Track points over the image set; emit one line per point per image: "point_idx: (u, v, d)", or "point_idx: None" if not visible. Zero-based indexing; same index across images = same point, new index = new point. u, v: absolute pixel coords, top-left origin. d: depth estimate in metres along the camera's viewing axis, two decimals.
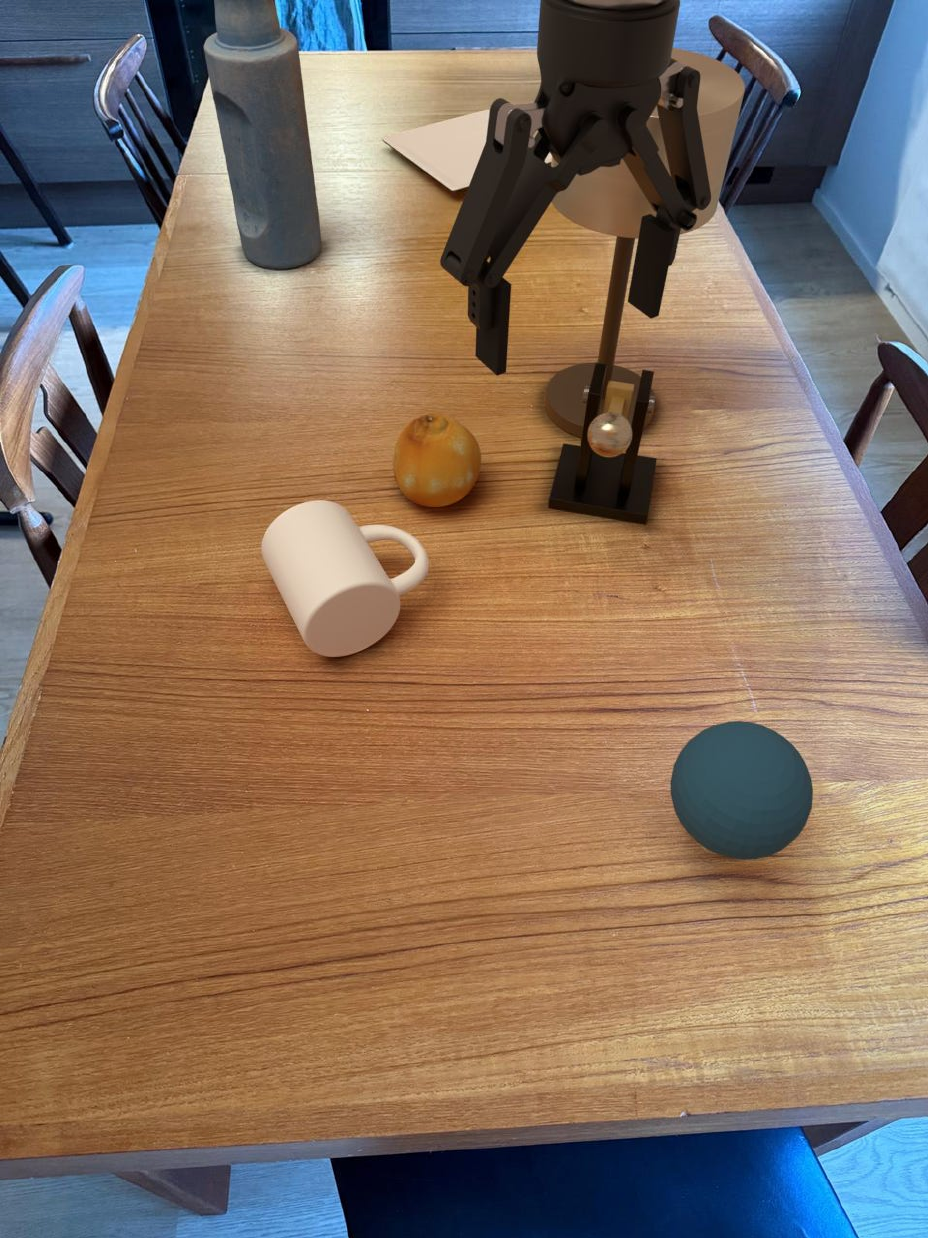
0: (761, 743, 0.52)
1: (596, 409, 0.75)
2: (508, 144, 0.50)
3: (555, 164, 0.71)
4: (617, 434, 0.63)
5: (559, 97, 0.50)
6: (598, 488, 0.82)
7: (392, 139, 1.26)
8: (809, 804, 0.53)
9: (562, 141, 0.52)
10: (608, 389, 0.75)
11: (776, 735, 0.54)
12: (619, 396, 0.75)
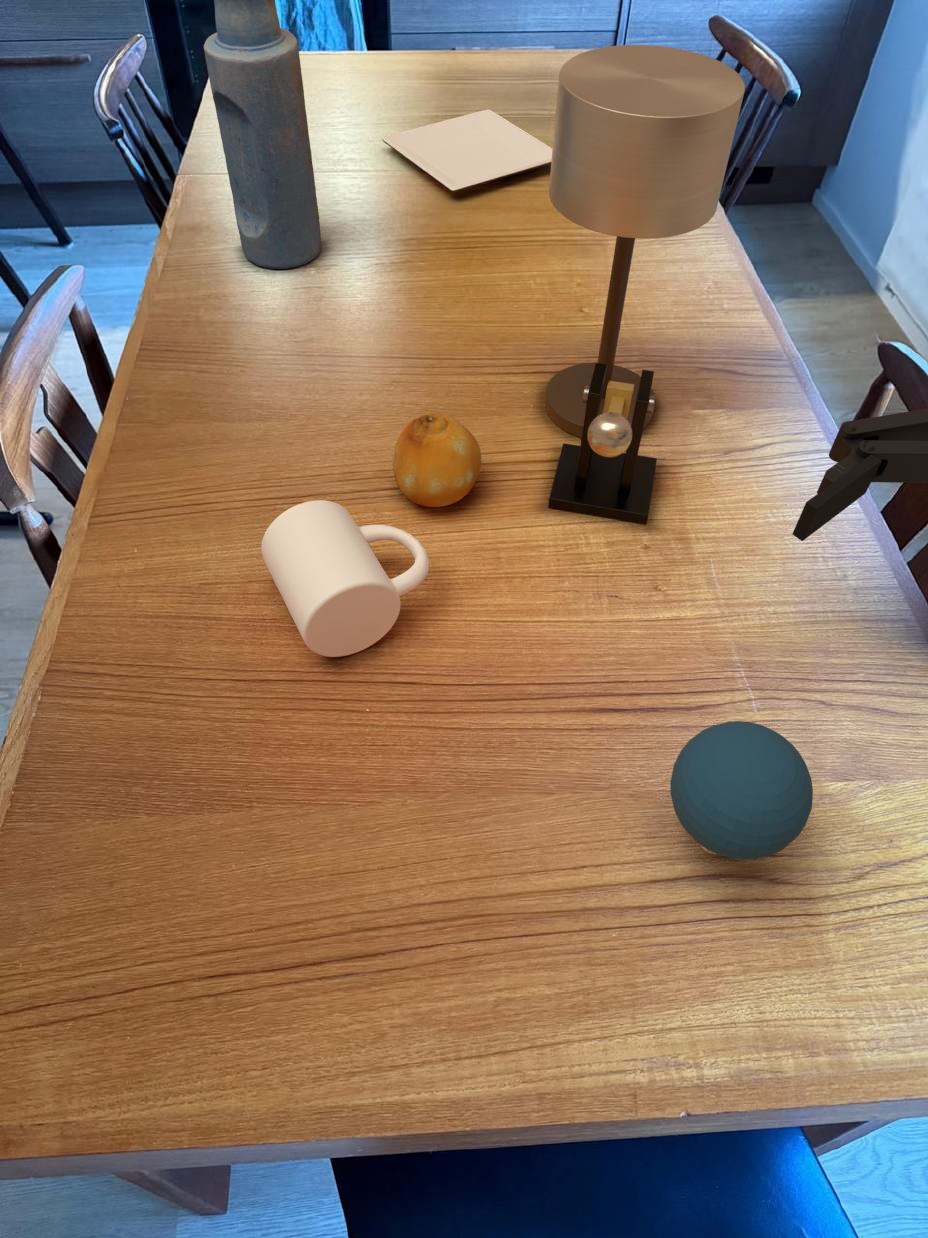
0: (761, 743, 0.52)
1: (596, 409, 0.75)
2: None
3: (555, 164, 0.71)
4: (617, 434, 0.63)
5: None
6: (598, 488, 0.82)
7: (392, 139, 1.26)
8: (809, 804, 0.53)
9: None
10: (608, 389, 0.75)
11: (776, 735, 0.54)
12: (619, 396, 0.75)
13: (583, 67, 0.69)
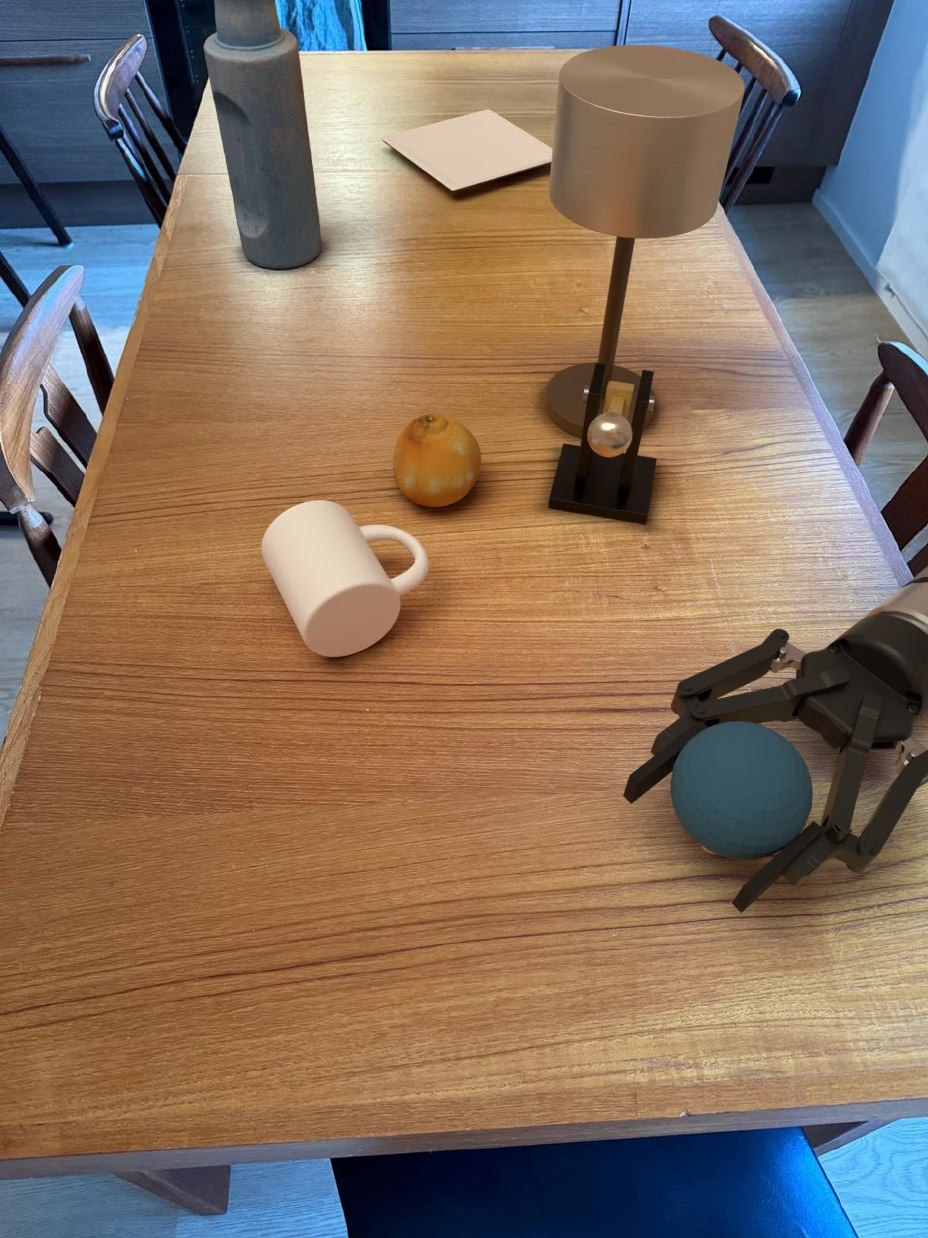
0: (761, 743, 0.52)
1: (596, 409, 0.75)
2: (764, 641, 0.63)
3: (555, 164, 0.71)
4: (617, 434, 0.63)
5: (824, 649, 0.63)
6: (598, 488, 0.82)
7: (392, 139, 1.26)
8: (809, 804, 0.53)
9: (808, 669, 0.61)
10: (608, 389, 0.75)
11: (776, 735, 0.54)
12: (619, 396, 0.75)
13: (583, 67, 0.69)
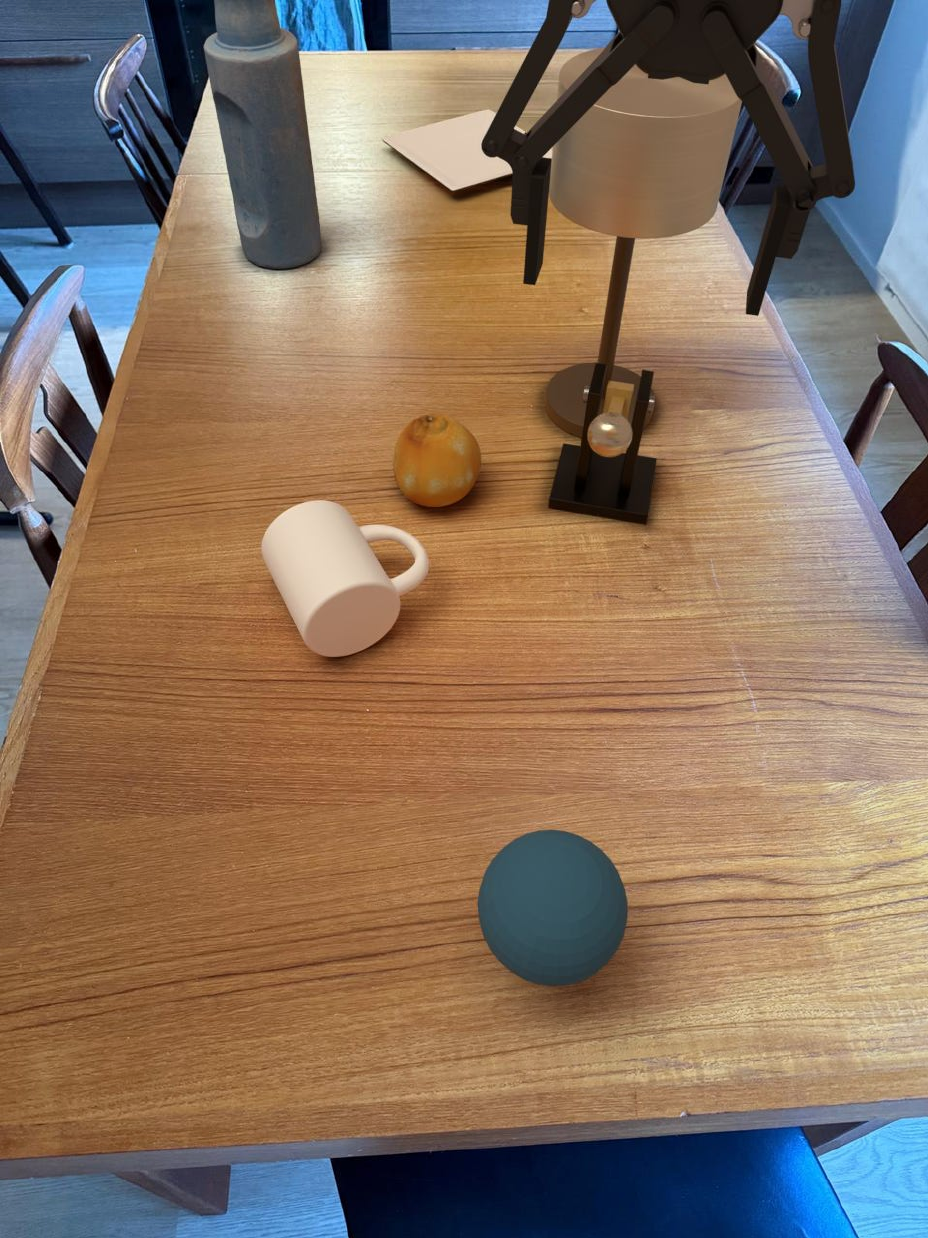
0: (565, 862, 0.48)
1: (596, 409, 0.75)
2: (549, 1, 0.44)
3: (555, 164, 0.71)
4: (617, 434, 0.63)
5: None
6: (598, 488, 0.82)
7: (392, 139, 1.26)
8: (618, 928, 0.48)
9: (622, 23, 0.44)
10: (608, 389, 0.75)
11: (586, 850, 0.49)
12: (619, 396, 0.75)
13: (583, 67, 0.69)
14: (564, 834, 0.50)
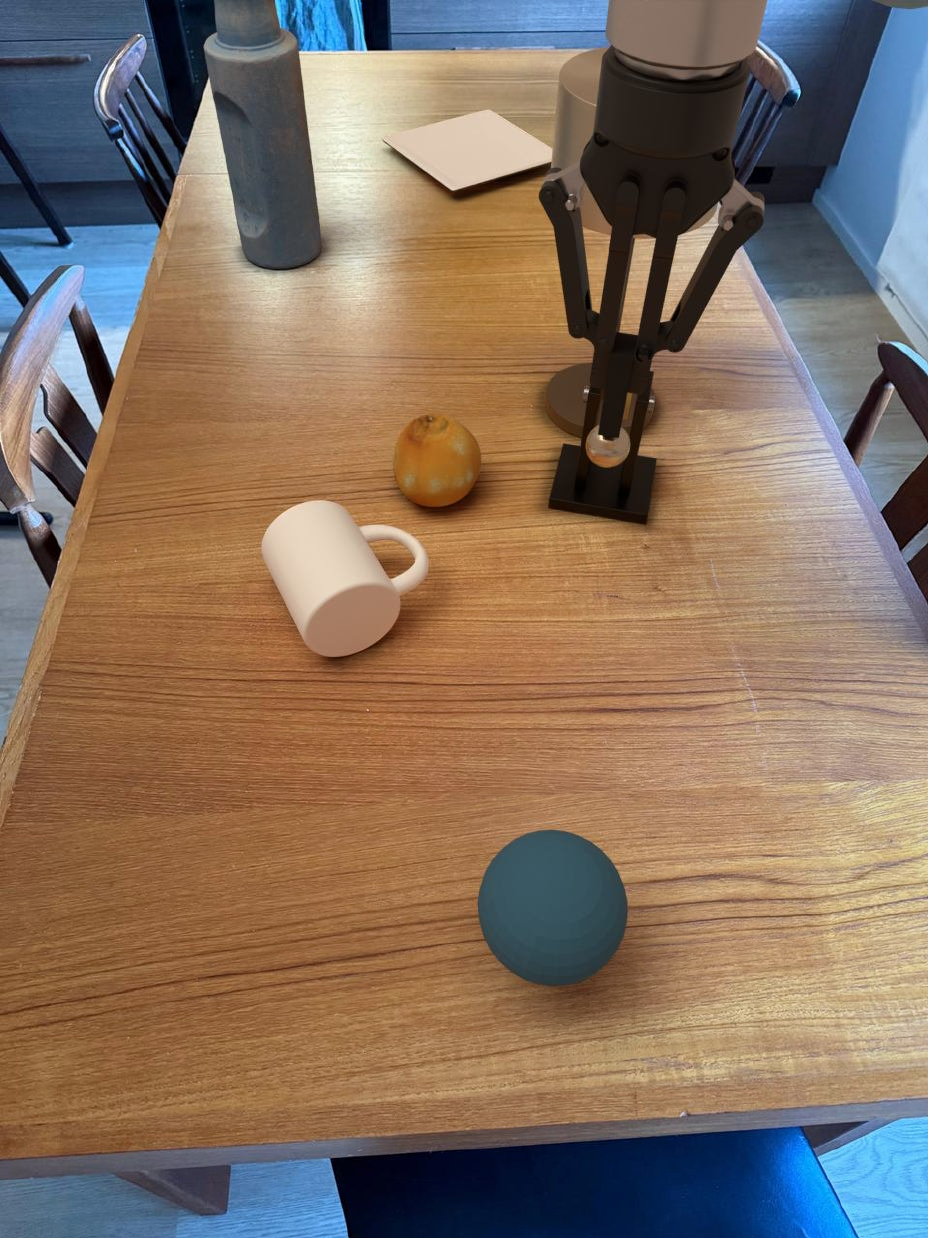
0: (565, 862, 0.48)
1: (596, 409, 0.75)
2: (549, 214, 0.52)
3: (555, 164, 0.71)
4: (615, 446, 0.63)
5: (592, 145, 0.49)
6: (598, 488, 0.82)
7: (392, 139, 1.26)
8: (618, 928, 0.48)
9: (594, 191, 0.50)
10: None
11: (586, 850, 0.49)
12: None
13: (583, 67, 0.69)
14: (564, 834, 0.50)
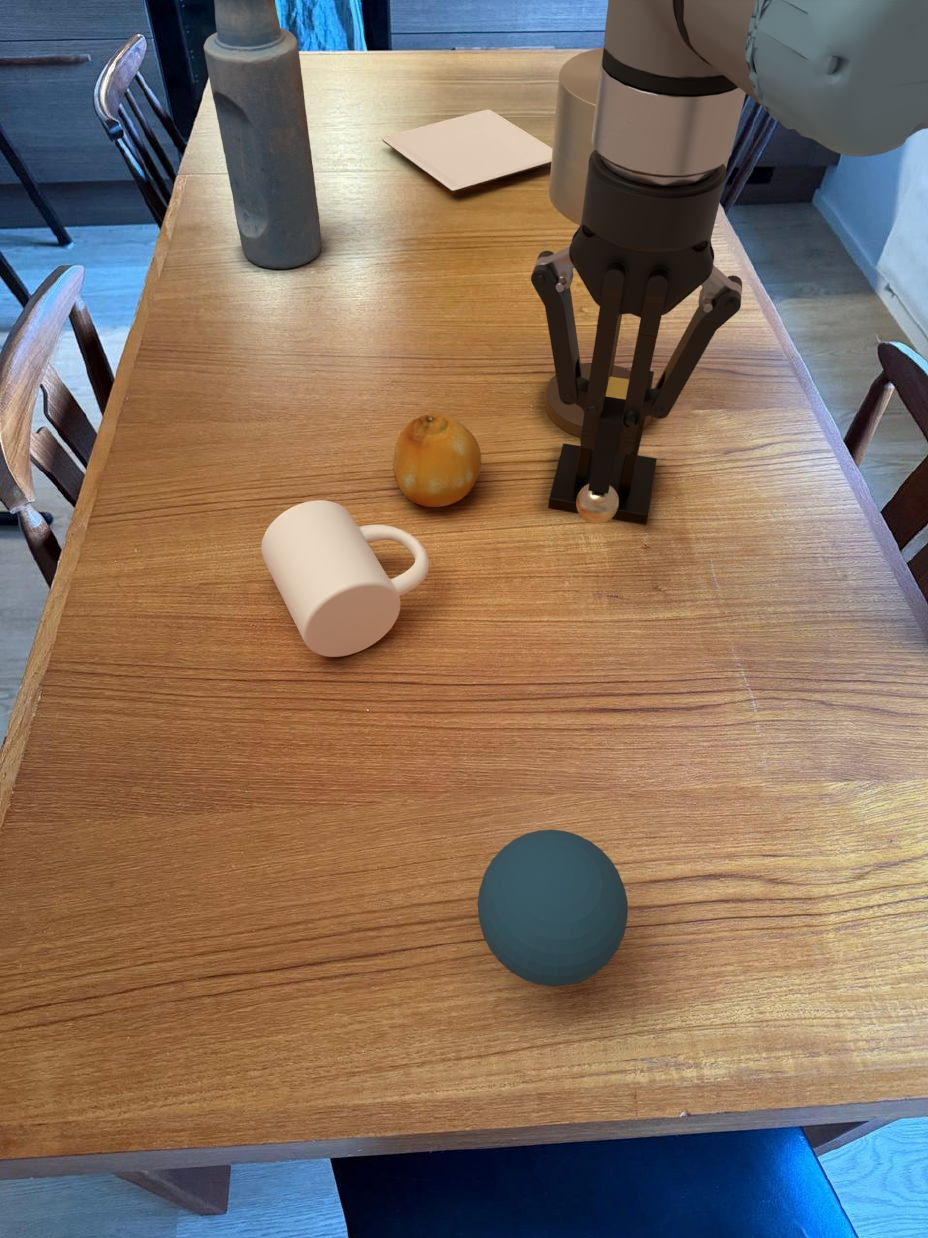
0: (565, 862, 0.48)
1: None
2: (540, 295, 0.56)
3: (555, 164, 0.71)
4: (602, 512, 0.67)
5: (581, 235, 0.52)
6: None
7: (392, 139, 1.26)
8: (618, 928, 0.48)
9: (583, 275, 0.54)
10: None
11: (586, 850, 0.49)
12: None
13: (583, 67, 0.69)
14: (564, 834, 0.50)
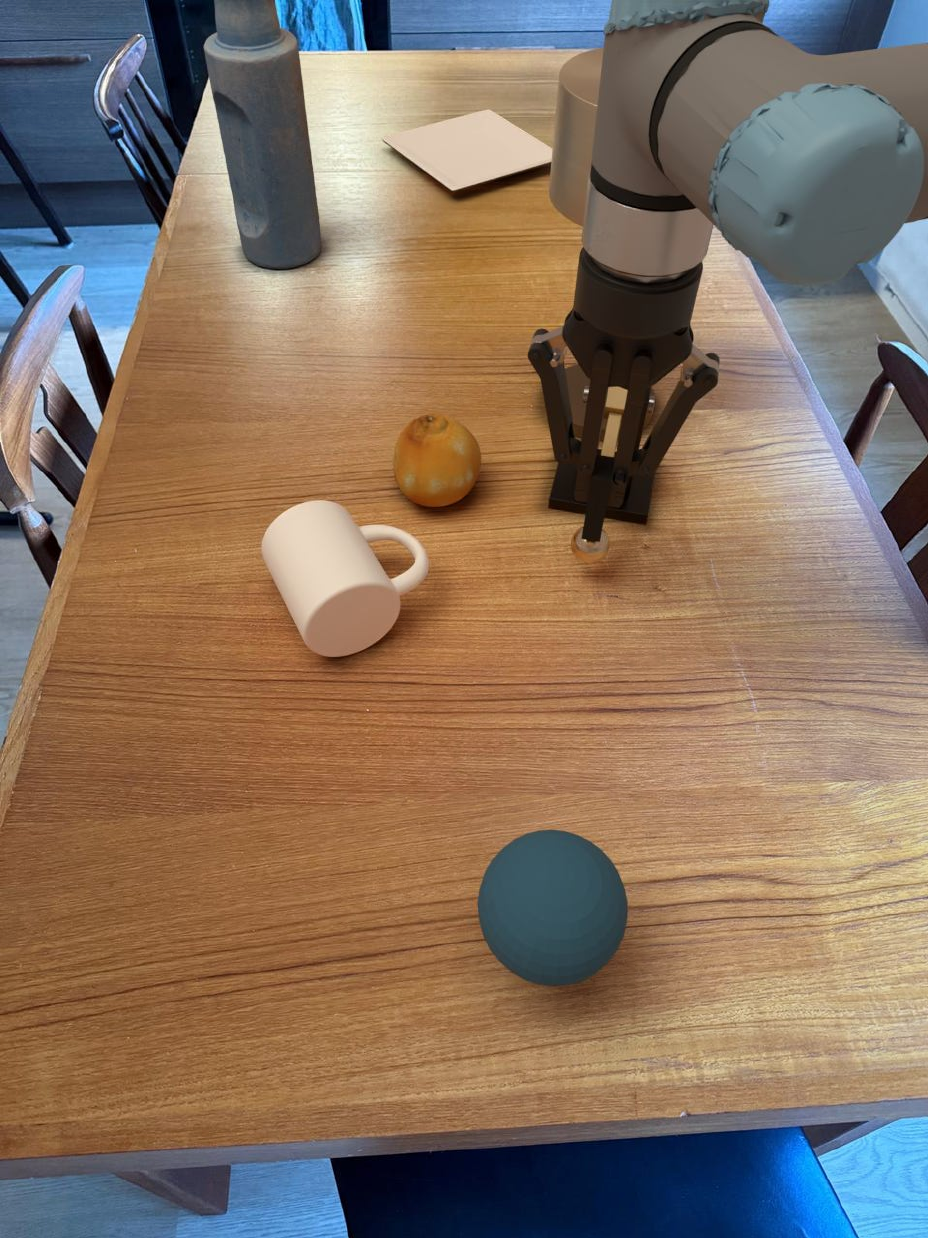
0: (565, 862, 0.48)
1: None
2: (536, 369, 0.61)
3: (555, 164, 0.71)
4: (594, 560, 0.73)
5: (572, 319, 0.58)
6: None
7: (392, 139, 1.26)
8: (618, 928, 0.48)
9: (574, 353, 0.59)
10: (605, 408, 0.75)
11: (586, 850, 0.49)
12: (616, 412, 0.75)
13: (583, 67, 0.69)
14: (564, 834, 0.50)
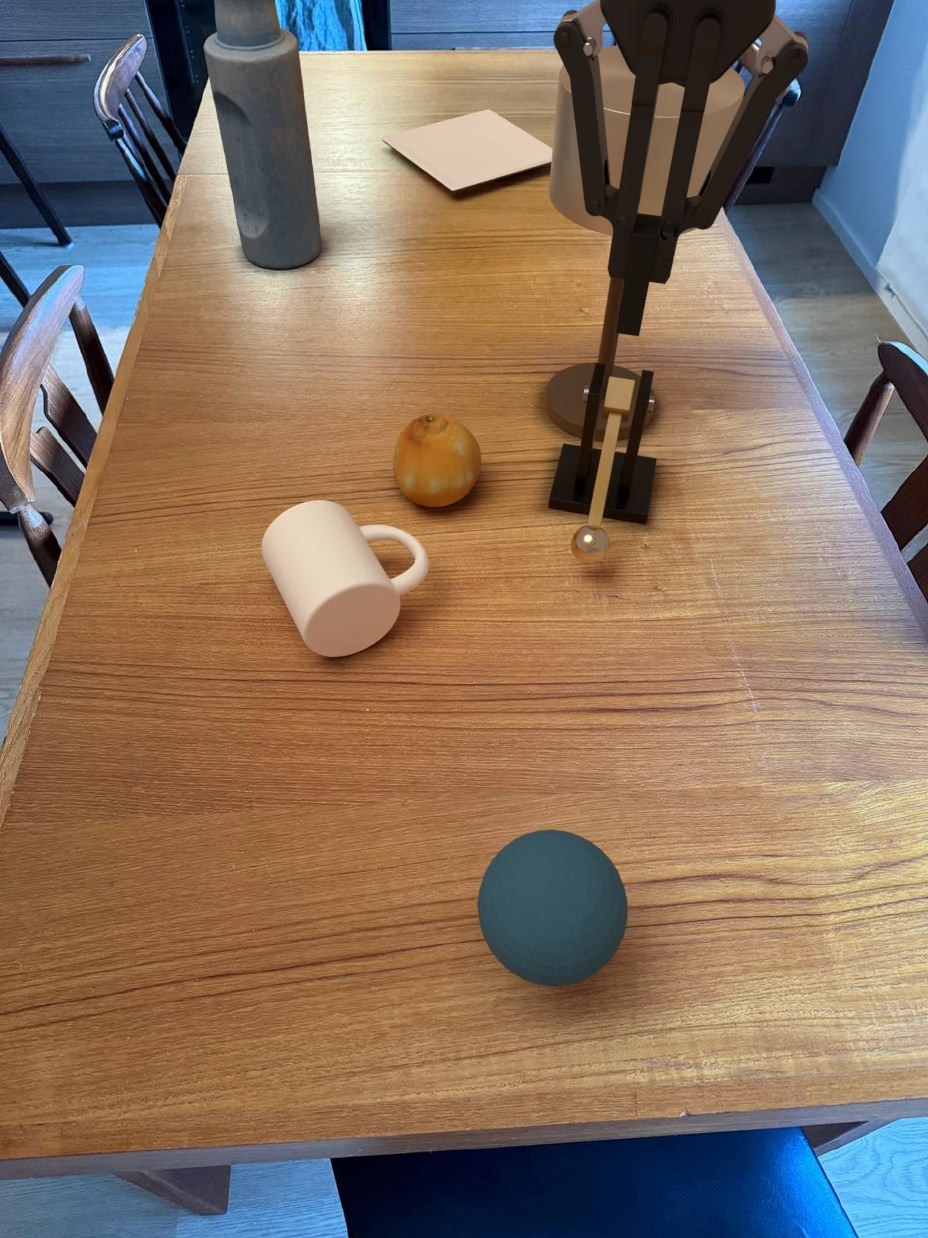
0: (565, 862, 0.48)
1: (596, 409, 0.75)
2: (564, 62, 0.46)
3: (555, 164, 0.71)
4: (594, 560, 0.73)
5: None
6: None
7: (392, 139, 1.26)
8: (618, 928, 0.48)
9: (616, 30, 0.45)
10: (605, 408, 0.75)
11: (586, 850, 0.49)
12: (616, 412, 0.75)
13: None
14: (564, 834, 0.50)
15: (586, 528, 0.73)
